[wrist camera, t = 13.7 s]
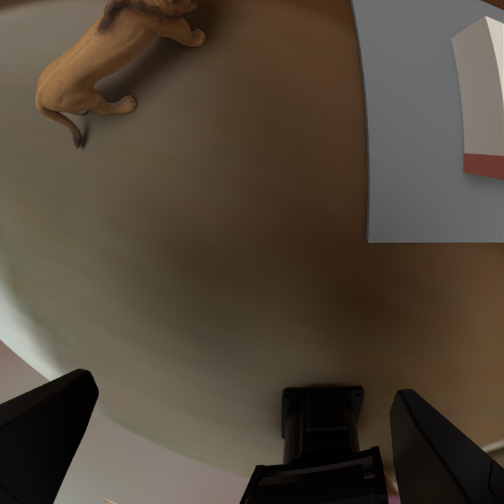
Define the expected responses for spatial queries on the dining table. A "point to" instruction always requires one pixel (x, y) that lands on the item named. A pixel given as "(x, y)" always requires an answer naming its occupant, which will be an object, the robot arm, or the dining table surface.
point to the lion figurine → (109, 56)
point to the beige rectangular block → (482, 95)
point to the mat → (420, 125)
